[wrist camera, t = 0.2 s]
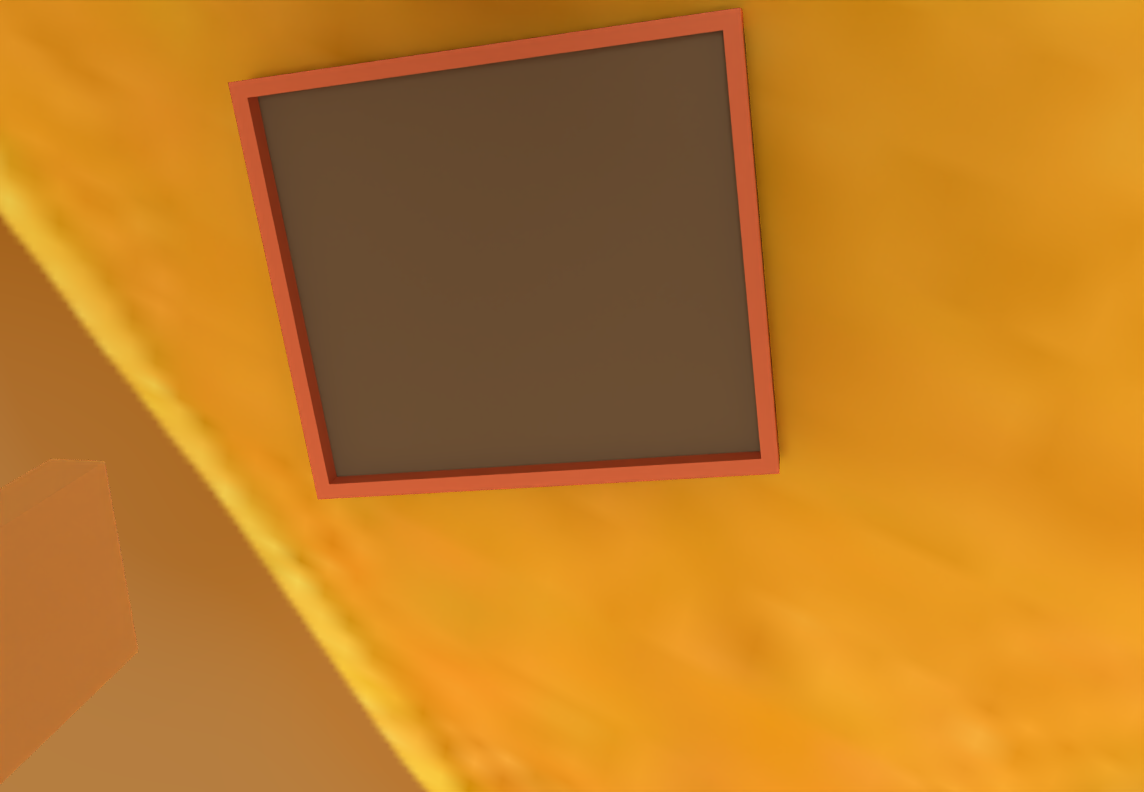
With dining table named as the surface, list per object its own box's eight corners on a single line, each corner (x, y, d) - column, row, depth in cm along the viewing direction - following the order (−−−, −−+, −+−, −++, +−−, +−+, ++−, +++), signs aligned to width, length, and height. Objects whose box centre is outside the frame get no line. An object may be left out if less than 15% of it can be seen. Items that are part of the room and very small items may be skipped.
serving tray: (251, 80, 40) (228, 82, 39) (742, 9, 37) (740, 7, 35) (335, 482, 45) (317, 499, 43) (779, 455, 41) (779, 473, 39)
